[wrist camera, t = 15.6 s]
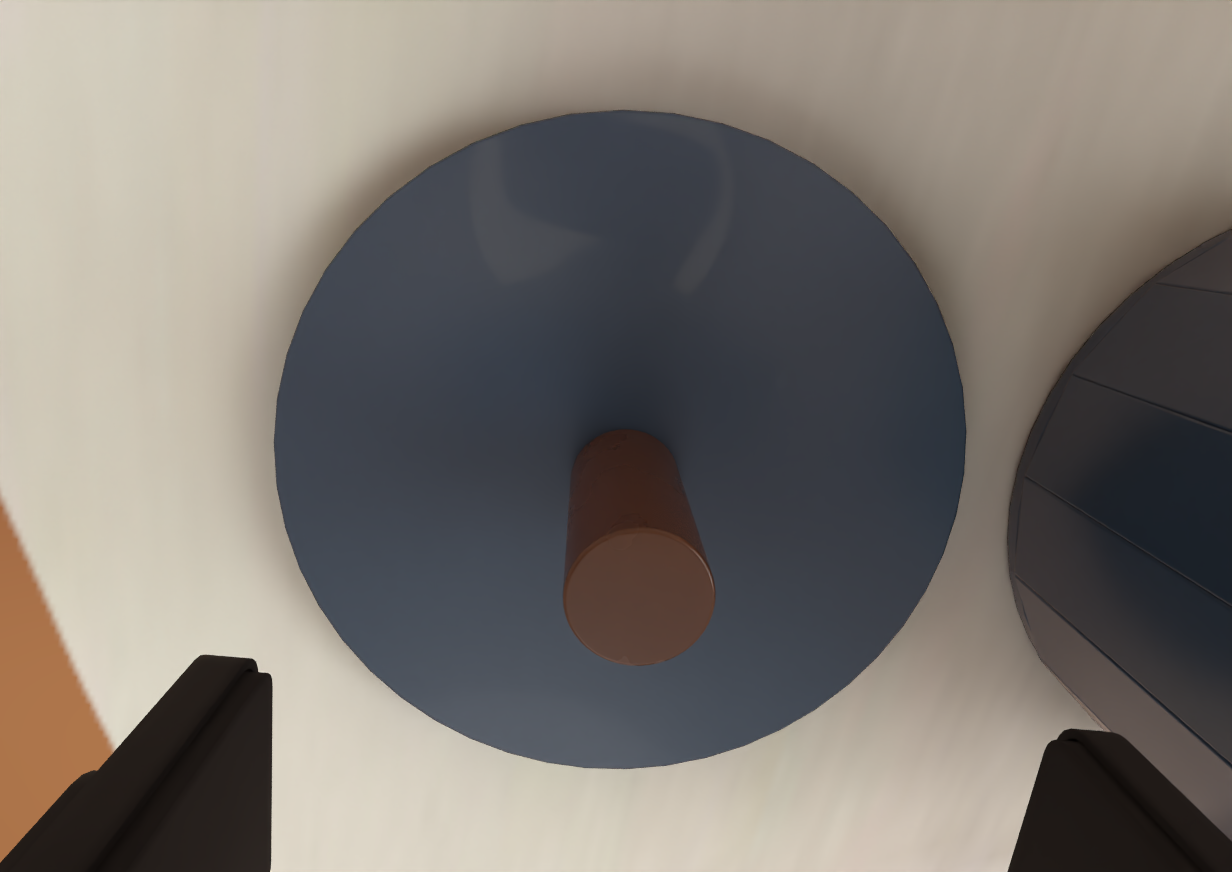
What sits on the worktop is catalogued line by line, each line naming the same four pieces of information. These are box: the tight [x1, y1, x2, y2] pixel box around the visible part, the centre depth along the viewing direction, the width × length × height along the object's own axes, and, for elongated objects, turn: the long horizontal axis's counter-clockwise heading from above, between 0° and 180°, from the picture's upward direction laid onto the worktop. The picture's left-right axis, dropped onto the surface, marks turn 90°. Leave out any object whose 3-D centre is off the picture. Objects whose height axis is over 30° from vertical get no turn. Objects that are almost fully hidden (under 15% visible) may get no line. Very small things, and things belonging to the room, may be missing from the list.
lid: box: [274, 110, 966, 769], centre depth 17 cm, size 17×17×7 cm
